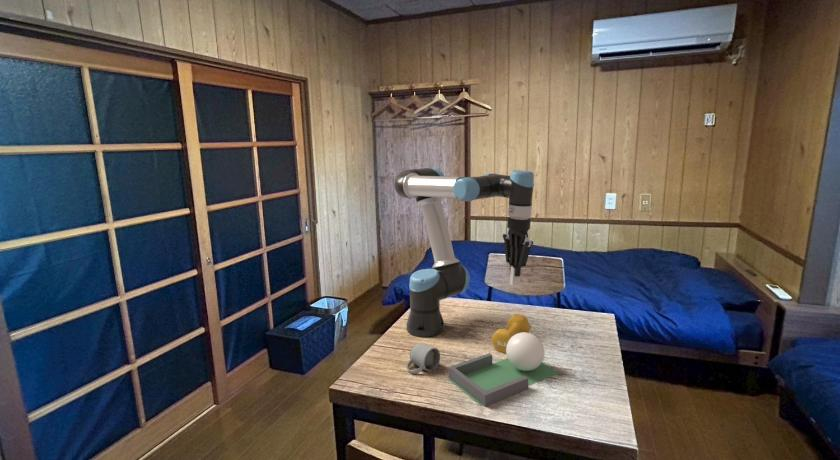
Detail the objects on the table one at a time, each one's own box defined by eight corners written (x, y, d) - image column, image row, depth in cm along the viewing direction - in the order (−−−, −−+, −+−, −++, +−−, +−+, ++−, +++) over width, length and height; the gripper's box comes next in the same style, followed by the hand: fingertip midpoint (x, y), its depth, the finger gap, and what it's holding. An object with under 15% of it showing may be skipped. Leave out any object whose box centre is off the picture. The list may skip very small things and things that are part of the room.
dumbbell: (513, 357, 147) (514, 335, 145) (489, 351, 152) (489, 329, 150) (532, 336, 163) (532, 316, 161) (509, 331, 167) (509, 311, 166)
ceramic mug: (423, 357, 148) (423, 337, 147) (441, 366, 142) (440, 345, 141) (401, 370, 141) (399, 348, 139) (418, 379, 135) (417, 357, 134)
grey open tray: (448, 377, 135) (448, 367, 134) (489, 362, 143) (489, 353, 143) (484, 406, 120) (484, 395, 119) (528, 388, 128) (528, 377, 127)
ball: (498, 365, 141) (498, 331, 139) (524, 355, 147) (525, 323, 145) (524, 382, 131) (525, 346, 129) (551, 371, 137) (553, 336, 135)
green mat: (448, 380, 134) (448, 379, 134) (524, 353, 150) (524, 352, 150) (480, 406, 120) (480, 405, 120) (559, 373, 136) (559, 372, 136)
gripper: (497, 214, 147) (493, 280, 152) (523, 221, 135) (518, 292, 141) (514, 213, 150) (510, 277, 155) (541, 220, 139) (535, 288, 144)
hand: (514, 284), depth 148 cm, fingers closed
